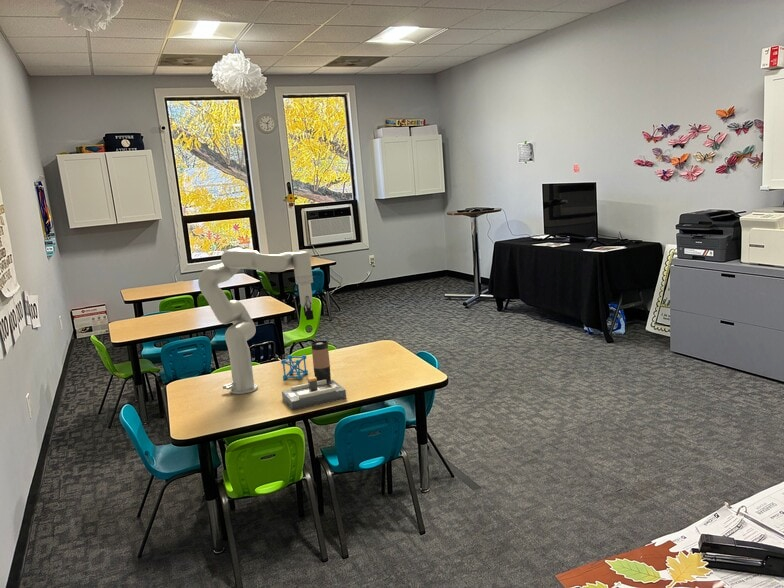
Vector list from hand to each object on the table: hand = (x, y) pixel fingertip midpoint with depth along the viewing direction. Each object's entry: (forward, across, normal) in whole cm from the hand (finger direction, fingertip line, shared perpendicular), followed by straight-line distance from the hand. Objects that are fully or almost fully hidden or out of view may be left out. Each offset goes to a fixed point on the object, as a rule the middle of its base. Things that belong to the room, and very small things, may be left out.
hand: (309, 317), depth 263 cm
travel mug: (+34, -8, +3) cm, 35 cm away
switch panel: (+34, +11, -3) cm, 36 cm away
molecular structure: (+34, -25, -9) cm, 43 cm away
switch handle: (+30, +11, -3) cm, 32 cm away
